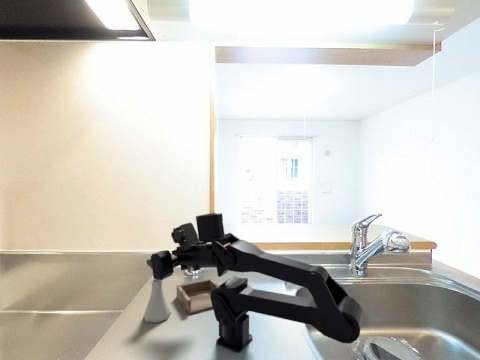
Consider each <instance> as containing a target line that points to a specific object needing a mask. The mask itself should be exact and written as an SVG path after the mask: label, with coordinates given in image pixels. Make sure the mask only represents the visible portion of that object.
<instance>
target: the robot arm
mask: <svg viewBox="0 0 480 360" xmlns="http://www.w3.org/2000/svg"><path fill="white" fill-rule="evenodd" d="M195 222H196V229H197V231H196V229H195V226H194V224H193V223H192V222H187V223H183V224H181V225H179V226H177V227H173V230H172V232H171V234H170V235H171V238H172V241H173V243H174V244H177V245H178V246H176V247H175V249H174V250H173V249H172V250H171V252H170V251H169V250H167V249H166V250H160V251H157V252H153V253H151V256H150V259H147V260H146V265H147V266H148V267H150V269H152V276H153V279H155V280H163V281H164V280H165V279H167V278H170V277H172V275H173V274H174V272H175V271H174V269H175V268H177V267H179V266H180V270H181V271H185V270H187V269H191V268H192V269H193V271H198V270H200V269H201V268H202V269H203V268H204V269H205V268H215V269H216V274H217V277H219V278H221V277H222V276H224V275H225V274H227V273H229V272H237V273H258V274H261V275H264V276H268V277H270V278H274V279H277V280H280V281H283V282H286V283H290V284H292V285H296V286H299V287H303V288H305V289H307V290H308V292H309V293H310V295H311V296H312V298H309V297H302V296H297V295H292V294H291V295H290V294H285V293H279V292H274V291H267V290H262V289H256V288H253V287H251V286H250V285H249V283H248V281H249V279H248V278H246V277H239V276H236V275H233V276H232V277H230V278H228V279H227V280H225V281H224V282H222V283H221V284H218V285H219V286H218V287H216V288H215V289H214V290H213V291H212V292H211V302H212V306H213V308H212V310H213V313H214V316H215V321H216V322H218V336H219V337H218V338H217V339H216V341H215V344H217V345H219V346H220V347H221V346H222V347H224V348H226V349H228V350H231V351H233V352H236V353H241V352H242V350H243V349H245V347H246V346H247V344H249V342H250V341H251V340H252V339H253V334H251V333H250V315H249V314H247V313H249V312H251V313H255V314H260V315H264V316H269V317H272V318H279V319H283V320H287V321H292V322H296V323H299V324H300V323H301V324H305V325H309V326H311V327H312V328H314V329H315V330H317V331H318V332H319V333H321V334H322V336H324V337H326V338H329V339H331V340H334V341H336V342H339V343H341V344H345V345H346V344H348V345H350V344H353V343H354V342H356V340H358V339H359V337H360V336H361V329H362V323H363V320H364V319H363V318H364V311H363V309H362V307H361V305H360V304H359V303H358V302H357V301H356V299H355V298H353V297H351V296H349V295H350V294H348V292H347V291H346V289H345V288H344V287H343V286H342V285H341V284H340V283H338V282H337V281H336V280H335V279H334V278H333V277H332V276H331V274H330V273H329V271H327V269H326V268H325V267H324V266H322V265H315V264H314V265H313V264H310V263H306V262H302V261H299V260H295V259H291V258H288V257H284V256H281V255H278V254H277V255H276V254H273V253H270V252H266V251H264V250H261V249H260V247H258V246H257V245H255V244H253V243H252V242H249V241H247V240H244V239H241V238H239V237H237V236H236V235H235V234H233V233H232V232H227V233H225V228H224V223H223V222H224V218H223V213H222V212H220V213H218V212H217V213H216V212H210V213H206V214H205V213H204V214H200V215H195ZM172 256H174V257H172Z"/></svg>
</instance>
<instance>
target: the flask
mask: <svg viewBox="0 0 480 360" xmlns="http://www.w3.org/2000/svg"><path fill="white" fill-rule="evenodd" d="M163 282H164V279H163V280H155V279H154V278H152V279H151V281H150V283H151V291H150V297H149V299H148V303H147V305H146V308H145V311H144V314H143V319H144V321H145V323H160V322H162V321H165V320H168V319H169V318H170V315H171V310H170V308H169V306H168V303H167V300H166V298H165V294H164V290H163Z"/></svg>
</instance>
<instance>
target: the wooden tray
mask: <svg viewBox="0 0 480 360" xmlns="http://www.w3.org/2000/svg"><path fill="white" fill-rule="evenodd" d="M219 285H220V284H218V282H216V281H215V280H214V279H213V278H212V277H211V278H206V279H202V280H197V281H193V282H188V283H184V284H180V285H179V284H178V285H176V298H177V300H178V301H179V302H180V304H181V306H182V307H183V309H184V310H185V312H186V314H187V315H188V316H189V315H194V314H197V313H198V314H199V313H201V312H205V311H208V310H211V309H212V310H213V306H212V302H211V292H212V291H213V290H214V289H215V288H216V287H218V286H219Z"/></svg>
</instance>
